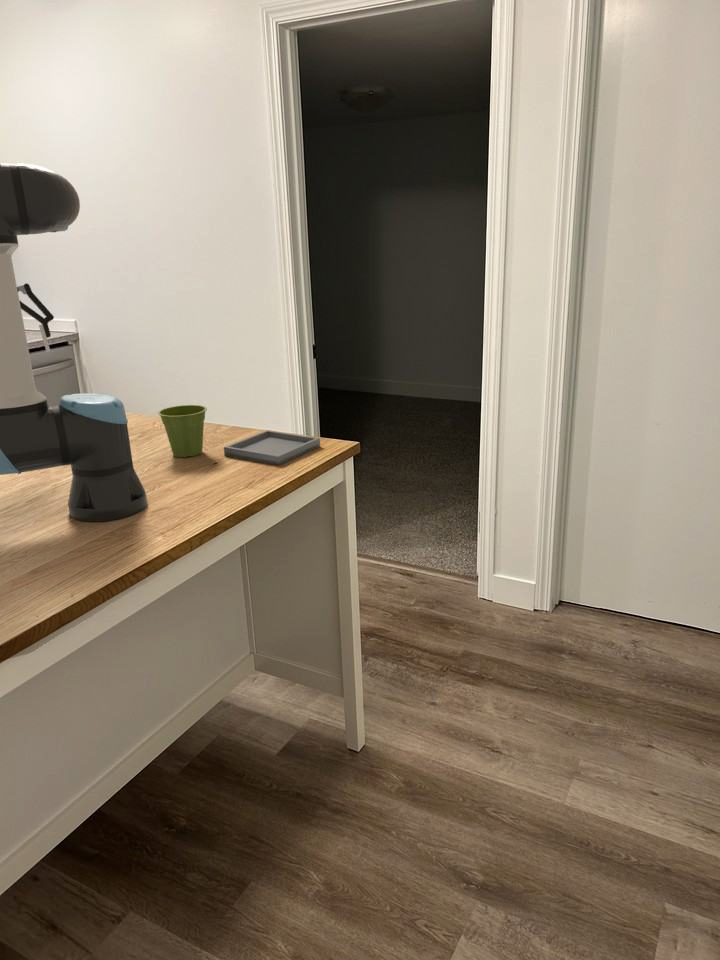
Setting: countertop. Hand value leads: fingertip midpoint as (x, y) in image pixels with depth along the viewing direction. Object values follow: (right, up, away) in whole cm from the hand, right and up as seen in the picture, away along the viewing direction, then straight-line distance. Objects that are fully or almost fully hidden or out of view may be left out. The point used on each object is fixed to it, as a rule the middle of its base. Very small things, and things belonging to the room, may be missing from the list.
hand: (19, 357), depth 174 cm
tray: (+60, -22, +7) cm, 65 cm away
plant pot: (+39, -23, +8) cm, 46 cm away
